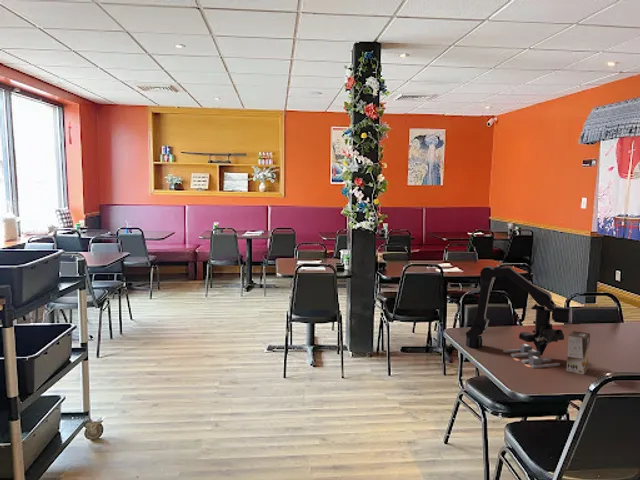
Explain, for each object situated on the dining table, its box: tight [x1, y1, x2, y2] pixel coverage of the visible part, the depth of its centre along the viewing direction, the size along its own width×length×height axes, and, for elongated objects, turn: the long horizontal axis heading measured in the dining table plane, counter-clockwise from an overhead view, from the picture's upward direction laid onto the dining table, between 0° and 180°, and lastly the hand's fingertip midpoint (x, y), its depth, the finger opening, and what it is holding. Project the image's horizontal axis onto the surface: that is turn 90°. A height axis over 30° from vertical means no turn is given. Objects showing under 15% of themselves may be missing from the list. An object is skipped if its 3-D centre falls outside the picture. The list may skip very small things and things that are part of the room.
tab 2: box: [527, 348, 541, 359], centre depth 202 cm, size 4×3×4 cm
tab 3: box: [528, 356, 543, 366], centre depth 194 cm, size 4×3×4 cm
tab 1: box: [519, 343, 533, 353], centre depth 210 cm, size 4×3×4 cm
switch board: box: [503, 348, 561, 369], centre depth 202 cm, size 16×20×2 cm
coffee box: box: [565, 330, 591, 375], centre depth 189 cm, size 9×6×16 cm
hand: (540, 355), depth 203 cm, fingers closed
